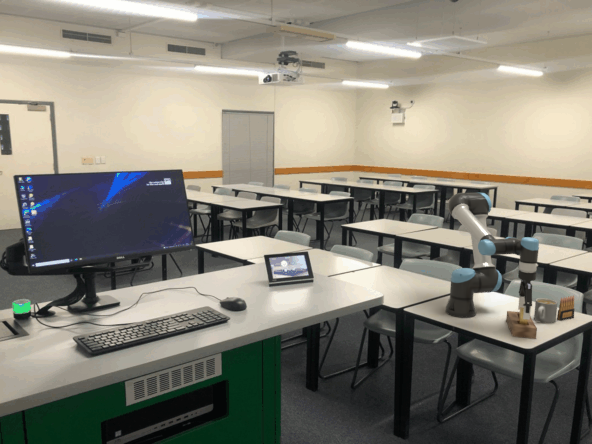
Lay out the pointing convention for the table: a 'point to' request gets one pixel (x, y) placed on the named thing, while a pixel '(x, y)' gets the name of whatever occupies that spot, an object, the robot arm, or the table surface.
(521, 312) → the brass square peg
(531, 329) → the walnut bore block
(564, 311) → the ammunition clip
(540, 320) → the coffee mug
